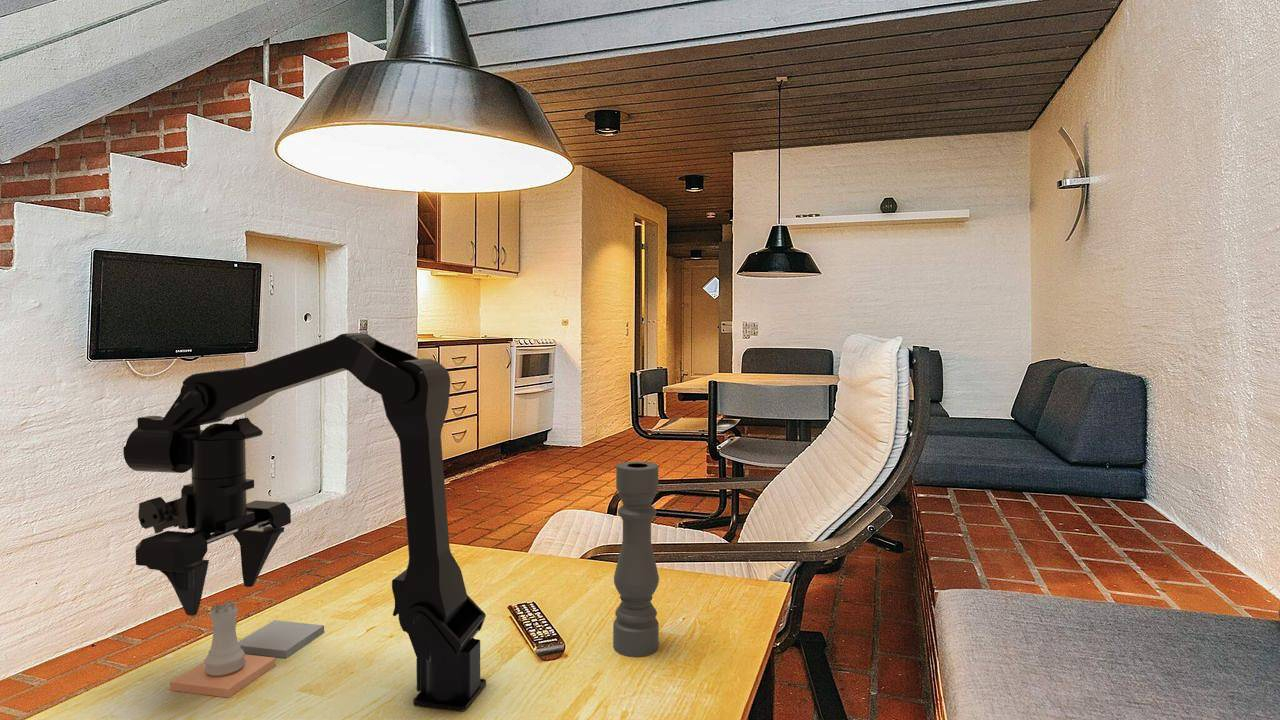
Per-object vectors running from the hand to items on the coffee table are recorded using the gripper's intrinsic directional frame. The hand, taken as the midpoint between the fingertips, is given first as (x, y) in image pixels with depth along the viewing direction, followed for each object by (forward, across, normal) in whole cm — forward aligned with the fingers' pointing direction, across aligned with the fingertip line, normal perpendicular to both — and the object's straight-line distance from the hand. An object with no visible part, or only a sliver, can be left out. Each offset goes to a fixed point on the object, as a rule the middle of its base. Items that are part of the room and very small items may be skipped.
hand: (221, 600), depth 88 cm
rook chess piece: (+9, 0, 0) cm, 9 cm away
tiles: (+10, -5, 0) cm, 11 cm away
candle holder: (+10, -19, +48) cm, 53 cm away
